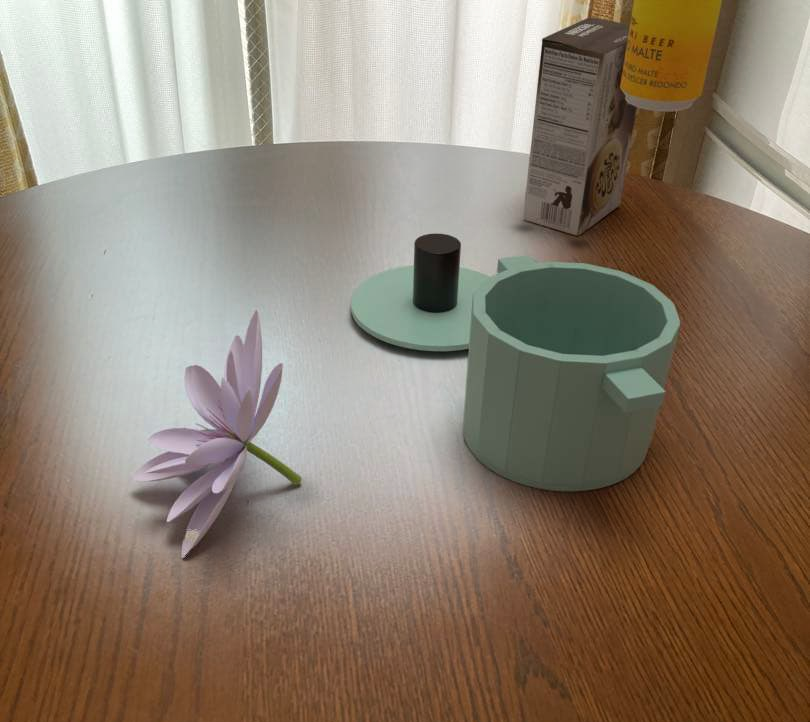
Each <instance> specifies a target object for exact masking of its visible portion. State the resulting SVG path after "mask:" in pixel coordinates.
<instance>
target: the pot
mask: <svg viewBox="0 0 810 722" xmlns="http://www.w3.org/2000/svg"><path fill="white" fill-rule="evenodd" d="M496 267H497V268H496V273H495V274H494V275H490V276H491V277H489V278H487V279H486V280H485V282H484V283H483V284H482V285H481V286H480V287H479V288H478V289H477V290H476V291H475V292H474V294H473V299H472V312H471V325H470V338H469V349H468V353H467V365H466V377H465V378H466V379H465V391H464V402H463V403H464V404H463V405H464V406H463V422H462V423H463V425H462V432H463V437H464V441H465V443H466V446H468V449H469V452H471V453H472V455H473V456H474V457H475V458H476V459H477V460H478V461H479V462H480V463H481V464H482V465H483V466H485V467H486V468H487V469H489V470H490V471H492V472H494V473H495V474H497V475H499V476H500V477H503V478H505V479H507V480H510V481H511V482H514V483H517V484H520V485H523V486H527V487H530V488H534V489H539V490H545V491H554V492H585V491H586V492H587V491H592V490H599V489H602V488H607V487H610V486H612V485H615V484H617V483H619V482H621V481H623V480H625V479H627V478H629V477H630V476H631V475H632V474H635V472H636V471H637V470H638V469H639V468H640V467H641V466H642V464H643V463H644V461H645V460H646V457H647V454H648V451H649V448H650V446H651V444H652V442H653V441H652V440H653V436H654V433H655V428H656V425H657V420H658V417H659V413H660V409H661V407H663V404H664V400H665V397H666V390H665V388H666V384H667V381H668V376H669V372H670V368H671V364H672V360H673V356H674V354H675V353H674V352H675V349H676V344H677V340H678V336H679V332H680V330H681V329H680V328H681V321H680V317H679V313H678V311H677V308H676V305H675V303H674V302H673V301H672V300H671V299H670V298H669V297H668V296H667V295H666V294H664V293H663V292H662V291H660V290H659V289H658V288H657V287H656V286H655V285H653V284H651V283H649V282H647V281H645V280H643V279H640V278H638V277H636V276H634V275H632V274H629V273H627V272H626V271H621V270H618V269H613V268H608V267H604V266H599V265H596V264H592V263H591V264H590V263H586V262H567V261H565V262H564V261H544V262H537V260H536V259H535V258H534V257H532V256H531V255H530V254H523V255H517V256H516V255H515V256H509V257H503V258H498V259H497V266H496Z"/></svg>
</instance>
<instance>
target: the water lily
mask: <svg viewBox="0 0 810 722" xmlns="http://www.w3.org/2000/svg"><path fill="white" fill-rule="evenodd" d="M262 338H263V337H262V327H261V321H260V314H259V310H258V308H256V309H255V311H254V312H253V314H252V317H251V319H250V320H249V324H248V327H247V330H246V333H245V338H244V341H243V339H242V337H241V336H240V335H238V334H236V335H235V336H234V338H233V340H232V342H231V344H230V346H229V350H228V352H227V355H226V359H225V363H224V364H225V365H224V370H223V371H224V372H223V377H221V379H220V380H221V382H218V381H217V379H216V378H215V377H214V376H213V375H212V374H211V373H210V372H209V371H208V370H207V369H205V368H204V367H203V366H201V365H197V364H194V365H189V366H186V367H185V370H184V388H185V393H186V396H187V398H188V401H189V403H190V404H191V406H192V407H193V409H194V410H195V411H196V413H197V414H198V416H200V417H201V418H202V420H204V421H205V422H206V424H208V425H210V426H211V427H212V428H208V427H206V426H203V424H202V425H201V424H199V423H197V422H196V423H195V425H197V426H199V427H202V428H203V429H195V428H194V429H193V428H186V427H174V428H173V427H172V428H166V429H162V430H159V431H157V432H155V433H153V434H151V435H150V436H149V437H148V438H147V441H148V443H149V444H151V445H152V446H153V447H155V448H157V449H159V450H162V451H165V452H164V453H161V454H159V455H157V456H155V457H153V458H152V459H150V460H149V461H147V462H146V463H144V464H142V466H140V468H138V469H137V470H136V471H135V472H134V474H133V475H132V476H131V480H132V481H134V482H141V483H142V482H143V483H145V482H146V483H147V482H148V483H149V482H160V481H165V480H166V481H167V480H171V479H176V478H180V477H184V476H187V475H190V474H193V473H196V472H199V471H201V470H203V469H206V468H207V467H209V466H212V465H214V464H217V463H218V464H217V465H216V466H214V467H213V468H211V469H210V470H208V471H207V472H205V473H204V474H203V475H202V476H200V477H198V478H197V479H196V480H195V481H193V482H191V484H189V486H187V488H186V489H184V490H183V491H182V493H181V494H179V496H178V498H176V500H175V502H174V503H173V505H172V506H171V509H170V510H169V512H168V515H167V518H166V523H170V522H172V521H174V520H176V519H177V518H179V517H180V516H182V515H183V514H185V513H187V512H188V511H190V510H191V509H192V508H194V507H195V506H196V505H197V504H198V505H197V506H196V508H195V510H194V511H193V514H192V516H191V518H190V520H189V522H188V525H187V527H186V530H185V532H187V531H191V530H195V529H197V530H195V531H197V532H198V531H199V532H198V533H199V536H198V538H197V539H196V541H195V542H194V544H193V546H192V547H191V541H190V540H183V539H182V544H181V559H184V558H186V556H187V555H188V554H189V553H190V552H191V551H192V550H193V549H194V548H195V547H196V546H197V545H198V544H199V542H200V541H201V540H202V539H203V537H204V536H205V535H206V534H207V532H208V531H209V530H210V528H211V526H212V525H213V524H214V522H215V521H216V520H217V518H218V516H219V514H220V513H221V511H222V510H223V508H224V506H225V504H226V502H227V501H228V498H229V497H230V494H231V492H232V490H233V488H234V486H235V483H236V481H237V479H238V477H239V476H240V474H241V472H242V470H243V468H244V466H245V464H246V461H247V456H248V453H250V454H251V455H253V456H255V457H256V458H257V459H259V460H261V461H262V462H264V463H265V464H266V465H268V466H269V467H271V468H272V469H274V470H275V471H276V472H278V473H279V474H281V475H282V476H283V477H284V478H286V480H288V481H290V483H292V484H293V485H294V486H299V485H300V484H301V482H302V479H303V478H302V477H301V476H300V475H299V474H298V473H297V472H296V471H294V470H293V469H291V468H290V467H289V466H288V465H286V464H284V462H282V461H281V460H279V459H277V458H276V457H275V456H273V455H272V454H270V453H269V452H267V451H265V450H264V449H262V448H260V447H259V446H257V445H255V444H254V443H252V442H251V441H252V440H253V439H254V438H255V437H256V436H257V435H258V433H259V432H260V431H261V429H262V428H263V426H264V425H265V423H266V422H267V420H268V418H269V416H270V415H271V413H272V410H273V408H274V405H275V402H276V400H277V398H278V394H279V391H280V387H281V382H282V378H283V368H284V363H282V362H281V363H278V364H277V365H276V366H274V367H273V368H272V370H271V372H270V373H269V375H268V377H267V379H266V381H265V383H264V385H263V390H262V392H261V383H262V374H263V339H262ZM260 393H262V394H261V397H260ZM259 398H260V399H259ZM259 400H260V401H259ZM294 483H295V484H294ZM188 529H191V530H188ZM194 546H195V547H194ZM190 548H191V549H192V548H193V549H192V550H191V549H190ZM190 550H191V551H190ZM189 551H190V552H189ZM188 552H189V553H188ZM187 553H188V554H187ZM186 554H187V555H186ZM185 555H186V556H185Z"/></svg>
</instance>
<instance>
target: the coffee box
mask: <svg viewBox="0 0 810 722" xmlns="http://www.w3.org/2000/svg"><path fill="white" fill-rule="evenodd" d="M629 29H630V25H629V24H626V23H623V22H618V21H614V20H608V19H604V18H603V19H602V18H597V17H586V18H585V19H582V20H580V21H577V22H575V23H574V24H571V25H569V26H566V27H565V28H562V29H561V30H558V31H555V32H554V33H551V34H549V35H547V36H545V37H542V39H541V48H540V49H541V51H540V57H539V65H538V66H539V68H538V77H537V84H536V85H537V86H536V94H535V103H534V104H535V105H534V113H533V124H532V133H531V142H530V150H529V151H530V152H529V158H528V159H529V160H528V169H527V177H526V178H527V179H526V187H525V196H524V205H523V206H524V207H523V216H522V218H523V220H524V221H527V222H530V223H533V224H536V225H539V226H543V227H546V228H550V229H553V230H556V231H558V232H562V233H566V234H569V235H572V236H577V237H578V236H580V235H582V234H583V233H584V232H586V231H587V230H589V229H590V228H591V227H593V226H594V225H595V224H597V223H598V222H599V221H601V220H602V219H603V218H605V217H606V216H607V215H609V214H610V213H611V212H613V211H614V210H615V209H617V208H618V207H620V205H621V201H622V195H623V188H624V182H625V177H626V171H627V165H628V159H629V153H630V147H631V141H632V138H633V131H634V126H635V119H636V114H637V109H638V107H636V106H633V105H631V104H630V103H628V102H627V101H626V99H625V94H624V93H623V91H622V90H621V88H620V84H621V78H622V72H623V66H624V59H625V53H626V47H627V41H628V35H629Z"/></svg>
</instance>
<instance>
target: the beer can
mask: <svg viewBox="0 0 810 722" xmlns="http://www.w3.org/2000/svg"><path fill="white" fill-rule="evenodd" d="M722 2H723V0H633V4H632V11H631V16H630V23H629V26H630V29H629V35H628V41H627V47H626V53H625V59H624V66H623V72H622V78H621V84H620V88H621V90H622V91H623V93H624V94H625V99H626V101H627V102H628V103H630V104H631V105H633V106H636V107H637V108H638V109H641V110H646V111H647V110H648V111H653V112H679V111H683V110H687V109H689V108H691V107H692V106H693V104H694V102H695V101H696V100H697V99H698V98H700V97H701V96H702V94H703V89H704V85H705V80H706V76H707V71H708V66H709V62H710V58H711V53H712V50H713V49H712V48H713V44H714V40H715V35H716V30H717V25H718V22H719V17H720V13H721V8H722Z"/></svg>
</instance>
